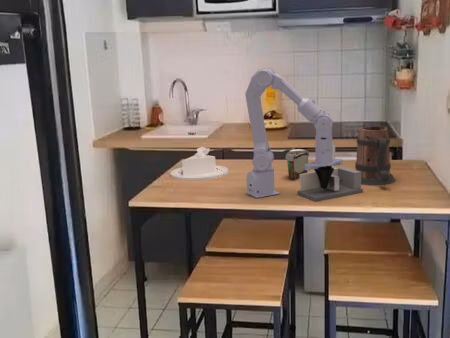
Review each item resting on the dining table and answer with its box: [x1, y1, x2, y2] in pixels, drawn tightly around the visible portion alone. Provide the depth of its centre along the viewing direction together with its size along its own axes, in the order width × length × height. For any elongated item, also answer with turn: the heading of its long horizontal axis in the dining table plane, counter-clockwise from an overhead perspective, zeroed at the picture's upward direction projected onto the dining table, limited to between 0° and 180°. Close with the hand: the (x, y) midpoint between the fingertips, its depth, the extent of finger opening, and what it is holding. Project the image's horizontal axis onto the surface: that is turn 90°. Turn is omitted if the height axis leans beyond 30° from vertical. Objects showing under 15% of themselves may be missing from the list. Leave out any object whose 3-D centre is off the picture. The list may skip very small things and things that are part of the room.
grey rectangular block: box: [326, 174, 342, 191], centre depth 179 cm, size 6×7×5 cm
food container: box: [285, 150, 310, 181], centre depth 203 cm, size 12×6×10 cm, turn 141°
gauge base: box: [296, 166, 364, 202], centre depth 178 cm, size 20×11×7 cm, turn 116°
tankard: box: [354, 125, 397, 187], centre depth 189 cm, size 24×17×20 cm
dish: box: [170, 146, 229, 182], centre depth 217 cm, size 25×25×11 cm
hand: (324, 187), depth 177 cm, fingers closed
